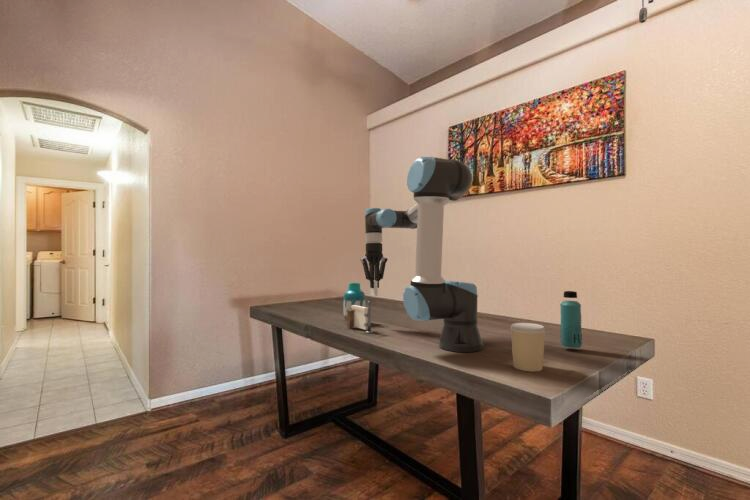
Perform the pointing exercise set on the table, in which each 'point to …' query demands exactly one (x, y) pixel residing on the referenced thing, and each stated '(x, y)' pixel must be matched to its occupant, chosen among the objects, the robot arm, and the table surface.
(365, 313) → the gate
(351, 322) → the stile post
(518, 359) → the coffee cup
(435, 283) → the robot arm
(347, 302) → the vase
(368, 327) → the hinge post
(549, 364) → the table surface
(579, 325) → the beverage bottle
